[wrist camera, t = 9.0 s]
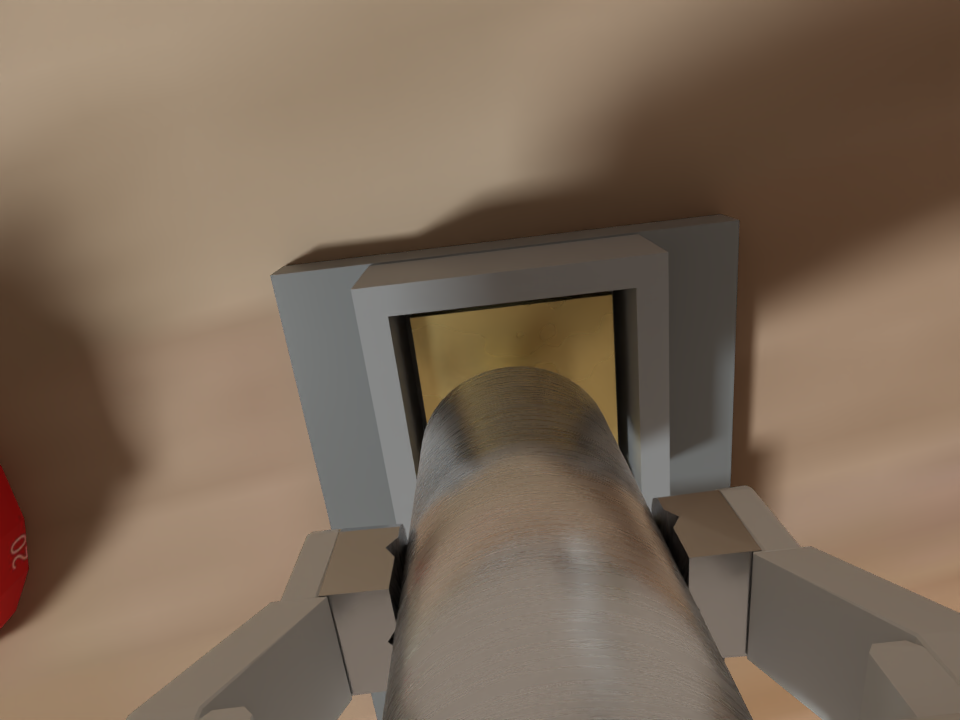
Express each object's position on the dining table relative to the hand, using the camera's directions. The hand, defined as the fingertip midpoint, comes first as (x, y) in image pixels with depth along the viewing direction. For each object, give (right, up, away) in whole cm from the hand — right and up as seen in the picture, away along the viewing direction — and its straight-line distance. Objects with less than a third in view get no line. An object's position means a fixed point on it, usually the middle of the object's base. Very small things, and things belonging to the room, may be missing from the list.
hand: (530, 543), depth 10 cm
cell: (0, +1, +3) cm, 3 cm away
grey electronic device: (+1, -1, +9) cm, 9 cm away
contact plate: (0, +2, +6) cm, 6 cm away
